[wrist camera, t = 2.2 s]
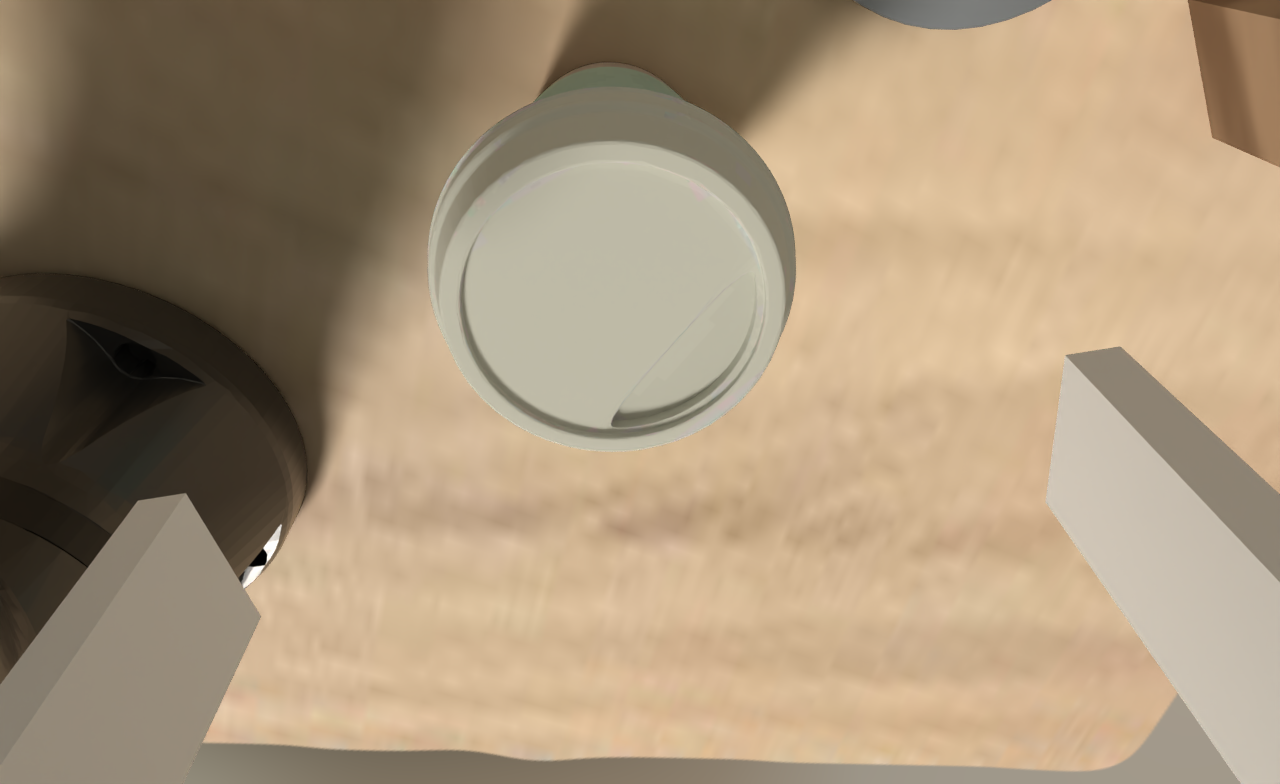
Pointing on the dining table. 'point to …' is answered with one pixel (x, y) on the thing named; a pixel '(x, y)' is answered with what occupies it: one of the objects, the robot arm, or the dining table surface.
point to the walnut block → (1241, 72)
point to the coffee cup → (611, 263)
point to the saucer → (950, 11)
